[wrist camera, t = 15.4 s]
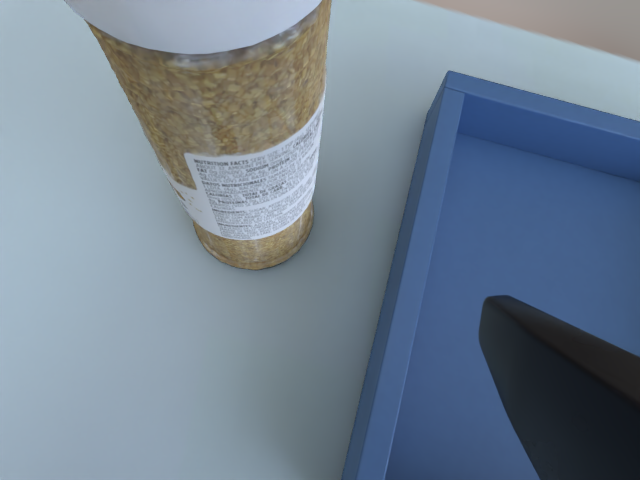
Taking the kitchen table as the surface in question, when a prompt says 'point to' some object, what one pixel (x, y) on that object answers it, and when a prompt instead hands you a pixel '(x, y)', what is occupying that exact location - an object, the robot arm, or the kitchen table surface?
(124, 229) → the kitchen table surface
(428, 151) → the tray
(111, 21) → the sprinkles bottle
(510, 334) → the robot arm
